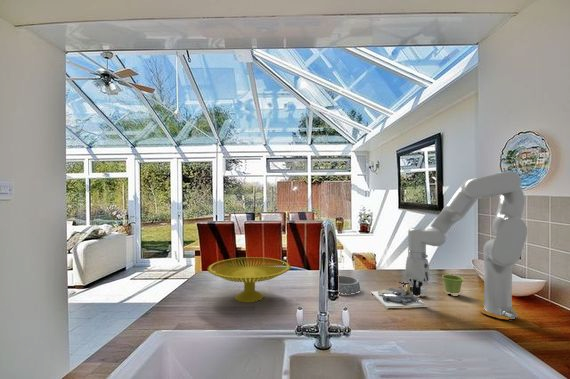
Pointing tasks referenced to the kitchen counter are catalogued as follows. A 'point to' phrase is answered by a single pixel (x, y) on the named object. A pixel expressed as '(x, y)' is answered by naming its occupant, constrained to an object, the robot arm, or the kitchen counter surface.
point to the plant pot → (452, 283)
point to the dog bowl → (348, 285)
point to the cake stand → (248, 275)
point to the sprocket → (398, 295)
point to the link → (423, 290)
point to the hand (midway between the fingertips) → (416, 294)
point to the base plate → (396, 304)
